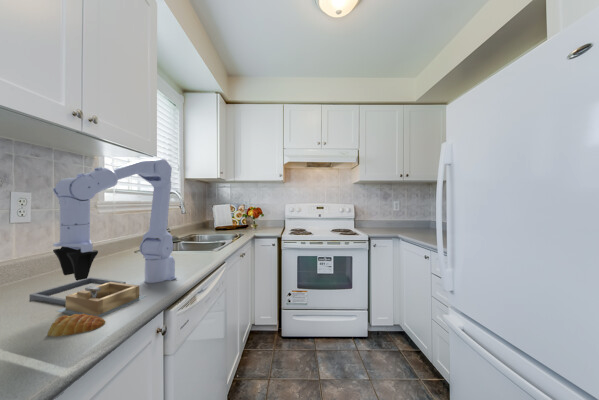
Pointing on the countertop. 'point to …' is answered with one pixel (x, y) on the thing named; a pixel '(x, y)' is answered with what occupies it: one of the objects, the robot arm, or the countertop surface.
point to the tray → (47, 293)
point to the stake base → (102, 313)
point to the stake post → (93, 291)
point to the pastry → (75, 324)
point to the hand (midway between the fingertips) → (75, 276)
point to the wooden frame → (102, 298)
